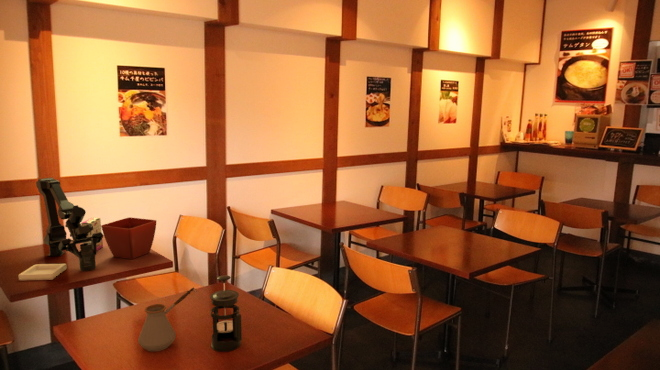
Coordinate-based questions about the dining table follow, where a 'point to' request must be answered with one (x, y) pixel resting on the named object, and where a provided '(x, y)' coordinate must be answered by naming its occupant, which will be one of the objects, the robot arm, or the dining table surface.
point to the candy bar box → (94, 230)
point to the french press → (226, 327)
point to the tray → (42, 272)
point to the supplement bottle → (87, 257)
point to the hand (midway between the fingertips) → (88, 256)
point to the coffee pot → (158, 327)
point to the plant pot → (129, 237)
